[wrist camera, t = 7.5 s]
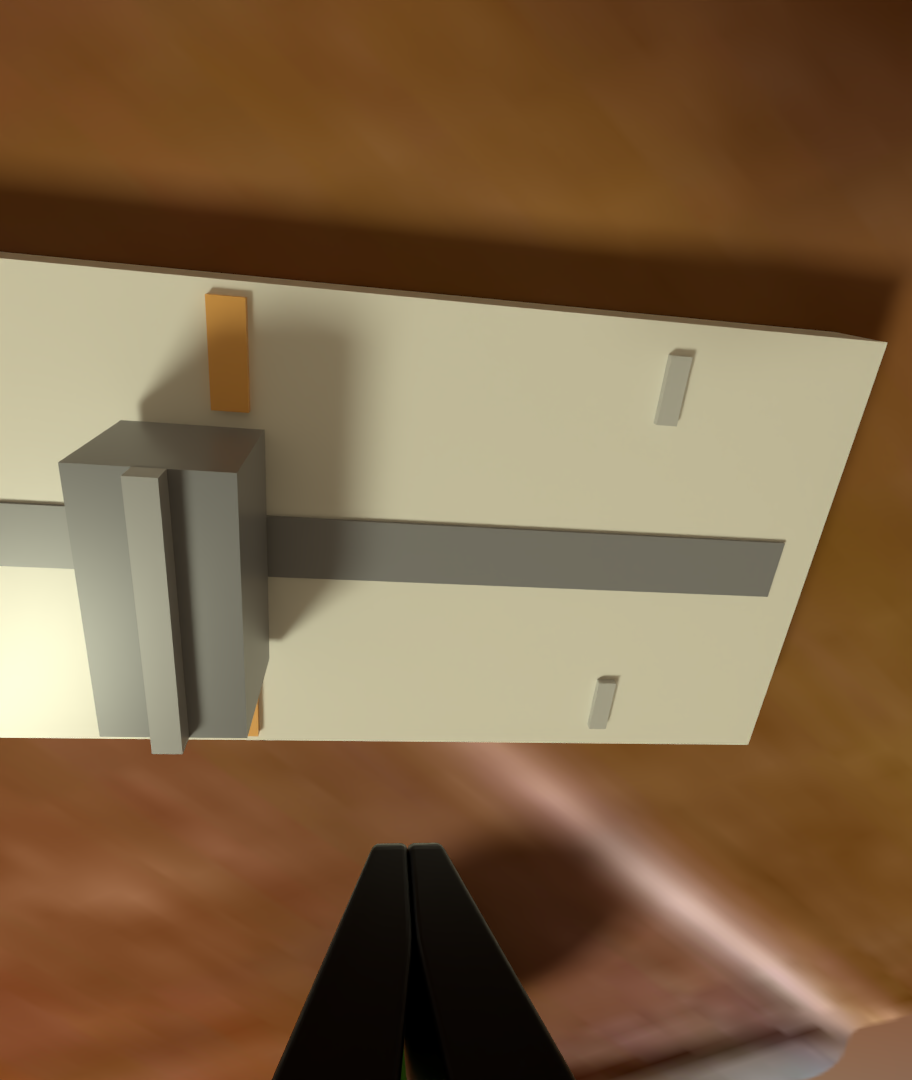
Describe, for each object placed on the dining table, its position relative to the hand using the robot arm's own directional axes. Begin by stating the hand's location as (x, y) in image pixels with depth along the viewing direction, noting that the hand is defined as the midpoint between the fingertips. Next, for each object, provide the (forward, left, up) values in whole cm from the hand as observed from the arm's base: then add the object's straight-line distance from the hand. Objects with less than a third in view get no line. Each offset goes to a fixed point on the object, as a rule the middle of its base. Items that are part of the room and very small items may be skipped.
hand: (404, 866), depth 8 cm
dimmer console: (0, 0, -11) cm, 11 cm away
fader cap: (+5, 0, -9) cm, 10 cm away
